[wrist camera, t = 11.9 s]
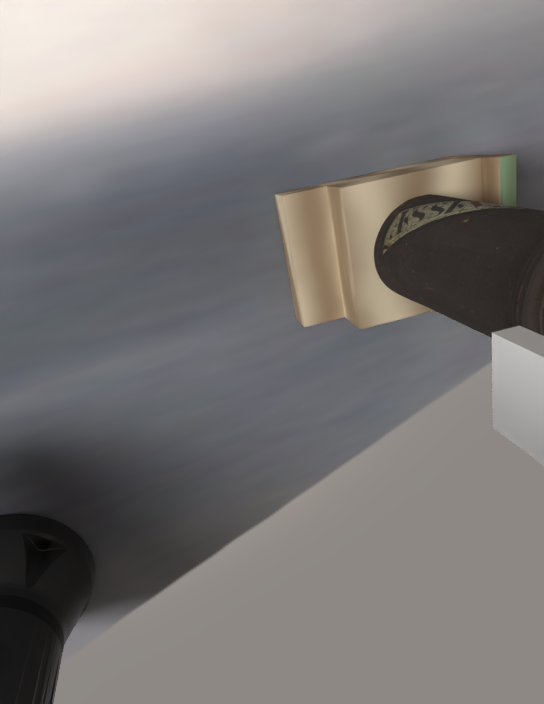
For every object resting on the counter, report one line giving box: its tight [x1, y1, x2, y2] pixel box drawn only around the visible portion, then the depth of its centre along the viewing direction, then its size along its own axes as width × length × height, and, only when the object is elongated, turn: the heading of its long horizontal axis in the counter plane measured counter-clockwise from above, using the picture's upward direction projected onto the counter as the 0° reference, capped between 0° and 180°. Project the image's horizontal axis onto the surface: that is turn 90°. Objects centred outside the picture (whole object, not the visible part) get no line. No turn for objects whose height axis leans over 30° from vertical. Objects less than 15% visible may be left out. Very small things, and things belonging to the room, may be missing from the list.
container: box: [374, 194, 544, 337], centre depth 34 cm, size 9×9×20 cm
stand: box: [274, 154, 517, 329], centre depth 45 cm, size 17×12×10 cm
